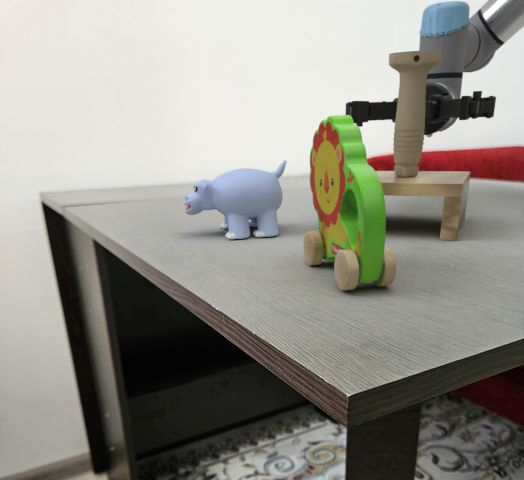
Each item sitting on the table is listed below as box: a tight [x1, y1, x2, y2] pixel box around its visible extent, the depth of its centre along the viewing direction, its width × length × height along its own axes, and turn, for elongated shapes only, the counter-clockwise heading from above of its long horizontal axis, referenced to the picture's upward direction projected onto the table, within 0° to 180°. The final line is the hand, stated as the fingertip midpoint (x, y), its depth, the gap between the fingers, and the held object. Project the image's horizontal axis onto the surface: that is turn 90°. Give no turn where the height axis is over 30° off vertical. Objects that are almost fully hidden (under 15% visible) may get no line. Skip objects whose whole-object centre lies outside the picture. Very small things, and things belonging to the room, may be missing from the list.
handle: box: [388, 50, 442, 177], centre depth 69 cm, size 5×6×15 cm
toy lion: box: [303, 114, 397, 291], centre depth 52 cm, size 16×5×15 cm, turn 13°
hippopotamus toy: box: [183, 159, 288, 240], centre depth 74 cm, size 11×15×10 cm
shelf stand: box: [375, 170, 471, 241], centre depth 74 cm, size 16×14×7 cm
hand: (406, 110), depth 66 cm, fingers open, 13 cm apart
